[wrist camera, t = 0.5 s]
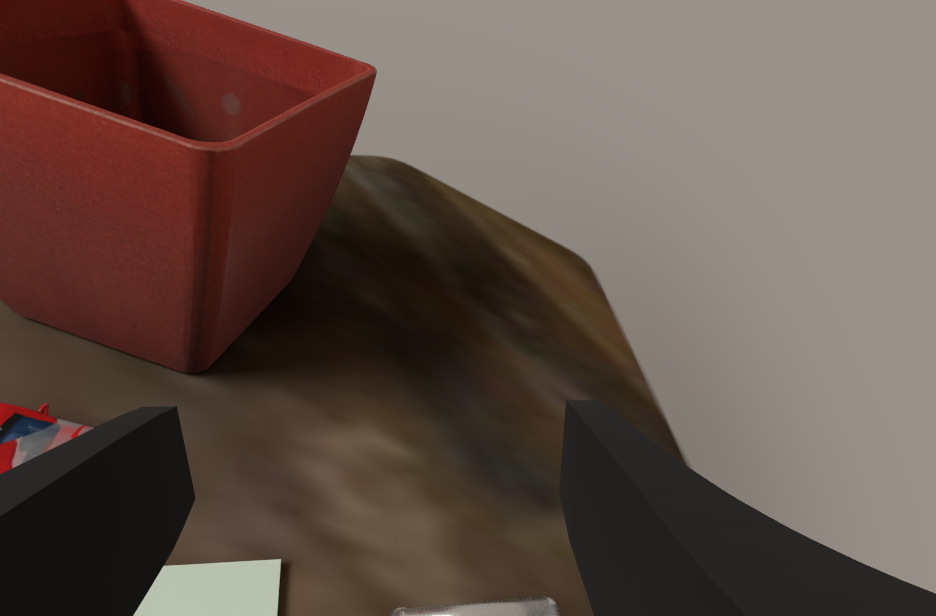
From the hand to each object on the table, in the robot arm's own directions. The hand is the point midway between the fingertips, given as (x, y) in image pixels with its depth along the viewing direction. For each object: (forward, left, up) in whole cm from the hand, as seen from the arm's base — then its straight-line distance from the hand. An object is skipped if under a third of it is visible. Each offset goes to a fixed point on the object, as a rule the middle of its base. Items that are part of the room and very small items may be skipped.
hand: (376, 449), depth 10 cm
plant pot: (+27, +10, -18) cm, 34 cm away
